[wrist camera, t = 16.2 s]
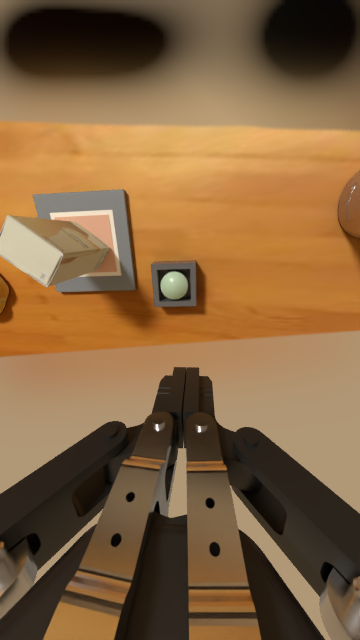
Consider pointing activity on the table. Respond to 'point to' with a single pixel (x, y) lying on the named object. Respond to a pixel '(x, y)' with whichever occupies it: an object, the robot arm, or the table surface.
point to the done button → (174, 285)
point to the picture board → (106, 224)
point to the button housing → (161, 270)
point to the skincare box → (50, 248)
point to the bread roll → (3, 294)
